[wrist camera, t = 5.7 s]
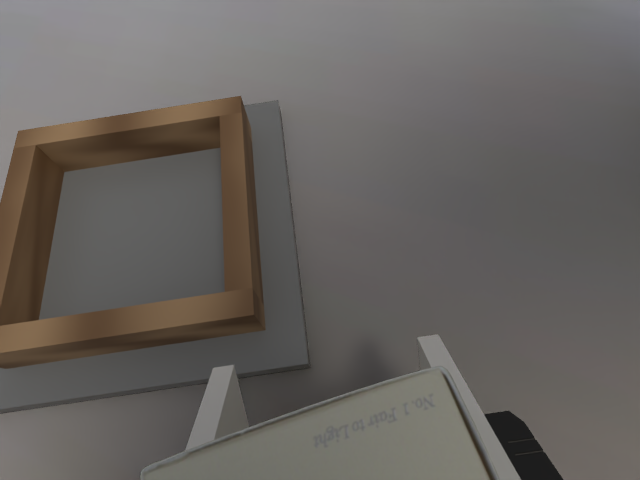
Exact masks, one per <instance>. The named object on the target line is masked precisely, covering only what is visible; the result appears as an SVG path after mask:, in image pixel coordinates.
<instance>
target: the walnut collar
mask: <svg viewBox="0 0 640 480" xmlns="http://www.w3.org/2000/svg"><path fill="white" fill-rule="evenodd" d="M216 148H220V150H221V183H222V217H223V251H224V284H225V292H221V293H214V294H208V295H201V296H194V297H188V298H181V299H175V300H168V301H161V302H155V303H148V304H142V305H135V306H128V307H122V308H115V309H108V310H102V311H95V312H89V313H82V314H75V315H69V316H62V317H55V318H49V319H42V320H39V316H40V310H41V304H42V298H43V292H44V287H45V281H46V275H47V269H48V264H49V258H50V252H51V246H52V241H53V235H54V229H55V223H56V218H57V212H58V206H59V200H60V195H61V189H62V183H63V177H64V172H68V171H74V170H81V169H87V168H94V167H100V166H106V165H113V164H119V163H126V162H132V161H139V160H145V159H151V158H158V157H164V156H171V155H177V154H183V153H190V152H196V151H203V150H209V149H216ZM263 330H266V327H265V314H264V300H263V286H262V272H261V259H260V245H259V231H258V217H257V204H256V190H255V176H254V162H253V148H252V135H251V126H250V123H249V120H248V117H247V114H246V111H245V108H244V105H243V102H242V98H241V96H237V97H231V98H225V99H218V100H212V101H206V102H199V103H193V104H187V105H180V106H174V107H168V108H161V109H155V110H149V111H142V112H136V113H129V114H123V115H117V116H110V117H104V118H98V119H91V120H85V121H79V122H72V123H66V124H60V125H53V126H47V127H41V128H34V129H28V130H21V131H18V134H17V138H16V142H15V146H14V150H13V154H12V158H11V162H10V166H9V170H8V174H7V178H6V182H5V186H4V190H3V194H2V198H1V203H0V368H4V369H9V368H16V367H23V366H29V365H36V364H43V363H50V362H56V361H63V360H70V359H76V358H83V357H90V356H96V355H103V354H110V353H116V352H123V351H130V350H136V349H143V348H150V347H156V346H163V345H170V344H176V343H183V342H190V341H197V340H203V339H210V338H217V337H223V336H230V335H237V334H243V333H250V332H257V331H263Z"/></svg>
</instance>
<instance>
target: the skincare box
mask: <svg viewBox="0 0 640 480" xmlns="http://www.w3.org/2000/svg"><path fill="white" fill-rule="evenodd" d="M140 480H500V479H499V476H498V474H497V472H496V469H495V467H494V465H493V463H492V461H491V459H490V456H489V453H488V451H487V449H486V447H485V445H484V443H483V441H482V438H481V436H480V434H479V432H478V430H477V427H476V425H475V423H474V421H473V419H472V417H471V415H470V413H469V411H468V409H467V407H466V405H465V403H464V401H463V399H462V397H461V395H460V393H459V390H458V388H457V386H456V384H455V382H454V380H453V378H452V376H451V374H450V373H449V371H448V370H447V369H446V368H444V367H443V366H435V367H431V368H427V369H424V370H420V371H416V372H413V373H409V374H406V375H402V376H399V377H396V378H392V379H389V380H385V381H382V382H379V383H376V384H373V385H370V386H367V387H364V388H360V389H357V390H354V391H351V392H348V393H345V394H342V395H339V396H336V397H333V398H330V399H327V400H324V401H321V402H318V403H315V404H313V405H310V406H307V407H304V408H301V409H298V410H296V411H293V412H290V413H287V414H284V415H281V416H278V417H276V418H273V419H270V420H267V421H264V422H261V423H259V424H256V425H253V426H250V427H248V428H245V429H242V430H240V431H237V432H234V433H231V434H228V435H226V436H223V437H220V438H218V439H215V440H213V441H210V442H207V443H205V444H202V445H199V446H197V447H194V448H191V449H188V450H186V451H183V452H180V453H178V454H175V455H173V456H171V457H168V458H166V459H163V460H160V461H158V462H155V463H152V464H150V465H148V466H146V467H145V468H143V470H142V471H141V473H140Z"/></svg>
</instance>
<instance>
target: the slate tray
mask: <svg viewBox="0 0 640 480" xmlns="http://www.w3.org/2000/svg"><path fill="white" fill-rule="evenodd" d="M244 108H245V111H246V114H247V117H248V120H249V123H250V126H251V135H252V148H253V162H254V176H255V190H256V204H257V217H258V231H259V245H260V259H261V272H262V286H263V300H264V314H265V327H266V330H263V331H257V332H250V333H243V334H237V335H230V336H223V337H217V338H210V339H203V340H197V341H190V342H183V343H176V344H170V345H163V346H156V347H150V348H143V349H136V350H130V351H123V352H116V353H110V354H103V355H96V356H90V357H83V358H76V359H70V360H63V361H56V362H50V363H43V364H36V365H29V366H23V367H16V368H9V369H4V368H0V413H7V412H14V411H21V410H27V409H34V408H41V407H48V406H54V405H61V404H68V403H75V402H81V401H88V400H95V399H102V398H108V397H115V396H122V395H129V394H135V393H142V392H149V391H155V390H162V389H169V388H176V387H182V386H189V385H196V384H203V383H208V382H209V379H210V376H211V373H212V370H213V368H215V367H222V366H229V365H234V367H235V371H236V375H237V378H243V377H250V376H257V375H263V374H270V373H277V372H284V371H290V370H297V369H304V368H310V359H309V350H308V342H307V333H306V325H305V316H304V307H303V299H302V290H301V282H300V273H299V264H298V256H297V247H296V239H295V230H294V221H293V213H292V204H291V196H290V187H289V178H288V170H287V161H286V153H285V144H284V135H283V127H282V118H281V111H280V106H279V102H278V100H277V101H270V102H264V103H258V104H251V105H245V106H244ZM221 292H225V284H224V251H223V217H222V183H221V150H220V148H216V149H209V150H203V151H196V152H190V153H183V154H177V155H171V156H164V157H158V158H151V159H145V160H139V161H132V162H126V163H119V164H113V165H106V166H100V167H94V168H87V169H81V170H74V171H68V172H64V177H63V183H62V189H61V195H60V200H59V206H58V212H57V218H56V223H55V229H54V235H53V241H52V246H51V252H50V258H49V264H48V269H47V275H46V281H45V287H44V292H43V298H42V304H41V310H40V316H39V320H42V319H49V318H55V317H62V316H69V315H75V314H82V313H89V312H95V311H102V310H108V309H115V308H122V307H128V306H135V305H142V304H148V303H155V302H161V301H168V300H175V299H181V298H188V297H194V296H201V295H208V294H214V293H221Z"/></svg>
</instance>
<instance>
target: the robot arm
mask: <svg viewBox="0 0 640 480" xmlns="http://www.w3.org/2000/svg"><path fill="white" fill-rule="evenodd" d="M417 341H418V353H419V364H420V370H424V369H427V368H431V367H435V366H443V367H444V368H446V369H447V370H448V371H449V373H450V374H451V376H452V378H453V380H454V382H455V384H456V386H457V388H458V390H459V393H460V395H461V397H462V399H463V401H464V403H465V405H466V407H467V409H468V411H469V413H470V415H471V417H472V419H473V421H474V423H475V425H476V427H477V430H478V432H479V434H480V436H481V438H482V441H483V443H484V445H485V447H486V449H487V451H488V453H489V456H490V459H491V461H492V463H493V465H494V467H495V469H496V472H497V474H498V476H499V479H500V480H563V479H562V477H561V476H560V474H559V473H558V471H557V470H556V468H555V467H554V465H553V464H552V462H551V461H550V459H549V458H548V457H547V455H546V454H545V453H544V452H543V449H542V448H541V446H540V445H539V443H538V442H537V440H535V438H534V436H533V435H532V433H531V432H530V430H529V429H528V427H527V426H526V424H525V423H524V422H523V421H522V420H520V419H519V418H518V417H516V416H515V415H514V414H512V413H511V412H510V411H504V412H497V413H490V414H483V412H482V410H481V408H480V407H479V405H478V403H477V401H476V400H475V398H474V396H473V394H472V393H471V391H470V389H469V387H468V386H467V384H466V382H465V380H464V379H463V377H462V375H461V373H460V372H459V370H458V368H457V366H456V365H455V363H454V361H453V359H452V358H451V356H450V354H449V352H448V351H447V349H446V347H445V345H444V344H443V342H442V340H441V338H440V337H439V335H438V334H436V335H430V336H423V337H417ZM248 427H249V423H248V419H247V415H246V411H245V407H244V403H243V399H242V395H241V391H240V387H239V383H238V379H237V375H236V371H235V367H234V365H229V366H222V367H215V368H213V370H212V373H211V376H210V379H209V382H208V385H207V388H206V390H205V393H204V396H203V399H202V402H201V405H200V408H199V411H198V414H197V417H196V420H195V423H194V426H193V429H192V432H191V435H190V437H189V440H188V443H187V446H186V449H185V451H186V450H188V449H191V448H194V447H197V446H199V445H202V444H205V443H207V442H210V441H213V440H215V439H218V438H220V437H223V436H226V435H228V434H231V433H234V432H237V431H240V430H242V429H245V428H248Z"/></svg>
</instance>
